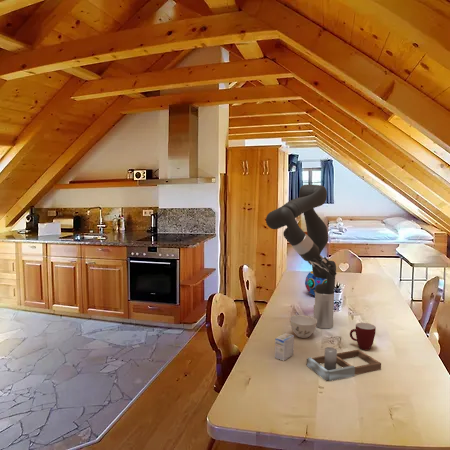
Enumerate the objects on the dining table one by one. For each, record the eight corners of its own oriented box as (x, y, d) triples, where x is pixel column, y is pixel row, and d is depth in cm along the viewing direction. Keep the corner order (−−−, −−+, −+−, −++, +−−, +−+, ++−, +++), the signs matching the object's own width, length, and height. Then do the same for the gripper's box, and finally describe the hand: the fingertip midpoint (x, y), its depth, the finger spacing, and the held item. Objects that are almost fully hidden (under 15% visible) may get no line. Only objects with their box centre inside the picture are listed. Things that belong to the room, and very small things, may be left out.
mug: (347, 348, 166) (348, 326, 165) (350, 342, 173) (351, 320, 172) (373, 353, 161) (374, 330, 160) (375, 346, 169) (376, 324, 168)
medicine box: (284, 352, 163) (284, 332, 162) (293, 355, 160) (294, 334, 159) (274, 358, 157) (274, 338, 156) (284, 361, 154) (284, 340, 153)
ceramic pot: (303, 298, 239) (304, 274, 238) (306, 290, 256) (306, 268, 254) (332, 300, 234) (333, 276, 232) (333, 292, 251) (334, 270, 249)
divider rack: (305, 365, 151) (306, 356, 151) (358, 355, 160) (358, 347, 160) (326, 381, 138) (327, 372, 138) (382, 370, 147) (382, 361, 147)
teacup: (312, 343, 172) (313, 326, 171) (285, 338, 177) (286, 321, 177) (320, 331, 185) (321, 315, 184) (295, 327, 191) (296, 311, 190)
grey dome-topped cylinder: (321, 368, 149) (322, 348, 148) (331, 366, 150) (332, 346, 149) (328, 373, 144) (329, 353, 144) (338, 371, 146) (339, 351, 145)
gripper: (321, 242, 146) (345, 269, 151) (301, 237, 159) (323, 262, 164) (309, 257, 144) (333, 284, 150) (289, 250, 158) (312, 275, 163)
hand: (328, 272), depth 157 cm, fingers open, 8 cm apart
